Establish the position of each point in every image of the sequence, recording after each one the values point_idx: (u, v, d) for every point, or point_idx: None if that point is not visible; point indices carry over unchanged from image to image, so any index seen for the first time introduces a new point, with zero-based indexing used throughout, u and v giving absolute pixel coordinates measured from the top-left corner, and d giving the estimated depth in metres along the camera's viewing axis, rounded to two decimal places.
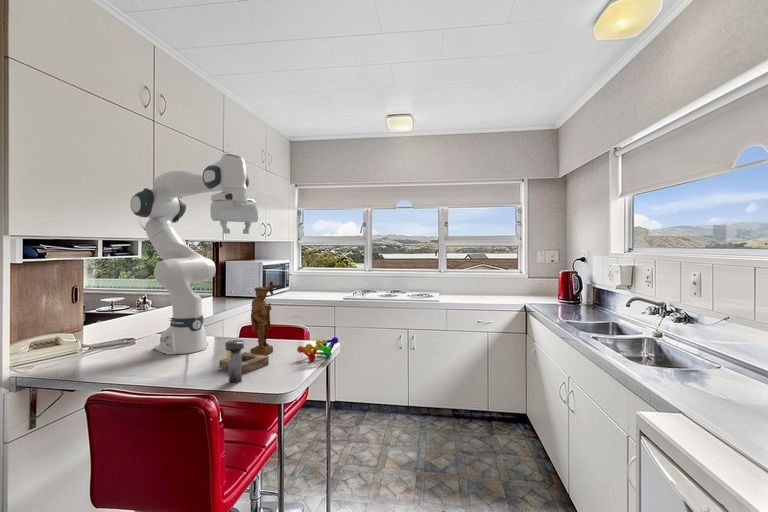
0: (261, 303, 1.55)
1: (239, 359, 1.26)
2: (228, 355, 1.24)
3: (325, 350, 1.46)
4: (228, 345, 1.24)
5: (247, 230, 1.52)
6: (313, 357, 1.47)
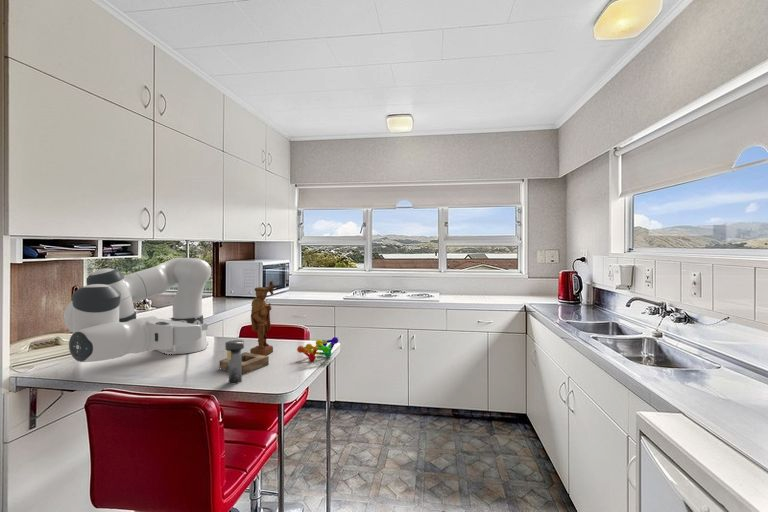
0: (261, 303, 1.55)
1: (239, 359, 1.26)
2: (228, 355, 1.24)
3: (325, 350, 1.46)
4: (228, 345, 1.24)
5: (182, 320, 1.16)
6: (313, 357, 1.47)
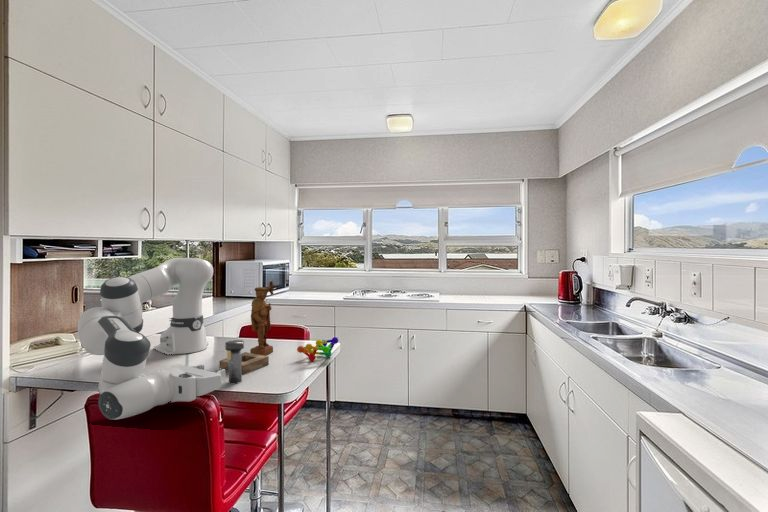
0: (261, 303, 1.55)
1: (239, 359, 1.26)
2: (228, 355, 1.24)
3: (325, 350, 1.46)
4: (228, 345, 1.24)
5: (199, 365, 1.20)
6: (313, 357, 1.47)
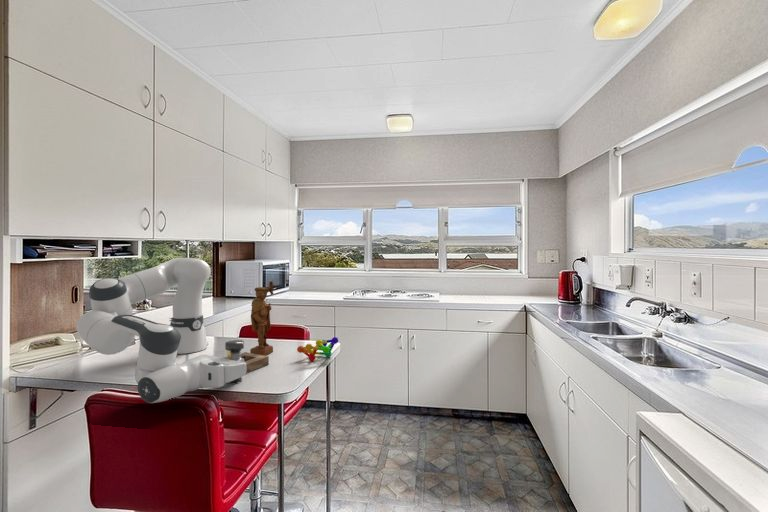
0: (261, 303, 1.55)
1: None
2: (228, 355, 1.24)
3: (325, 350, 1.46)
4: (228, 345, 1.24)
5: None
6: (313, 357, 1.47)
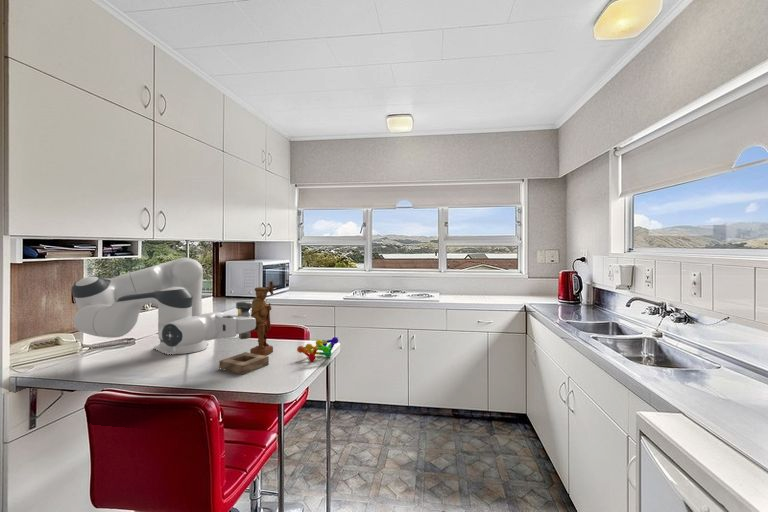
0: (261, 303, 1.55)
1: None
2: (238, 313, 1.38)
3: (325, 350, 1.46)
4: (239, 304, 1.38)
5: None
6: (313, 357, 1.47)
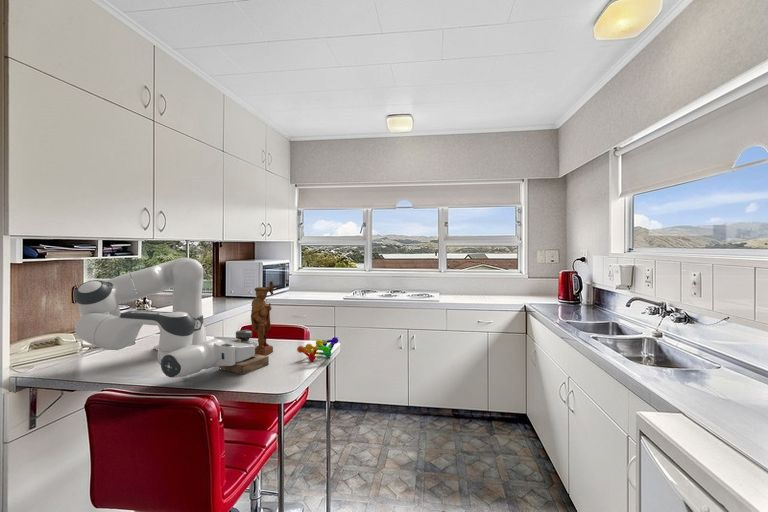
0: (261, 303, 1.55)
1: None
2: None
3: (325, 350, 1.46)
4: (238, 334, 1.39)
5: (234, 340, 1.43)
6: (313, 357, 1.47)
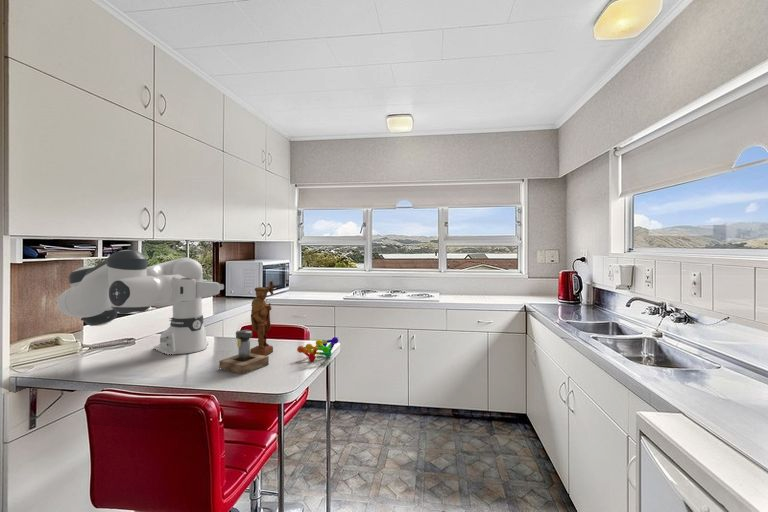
0: (261, 303, 1.55)
1: (248, 346, 1.40)
2: (238, 343, 1.39)
3: (325, 350, 1.46)
4: (238, 334, 1.39)
5: None
6: (313, 357, 1.47)
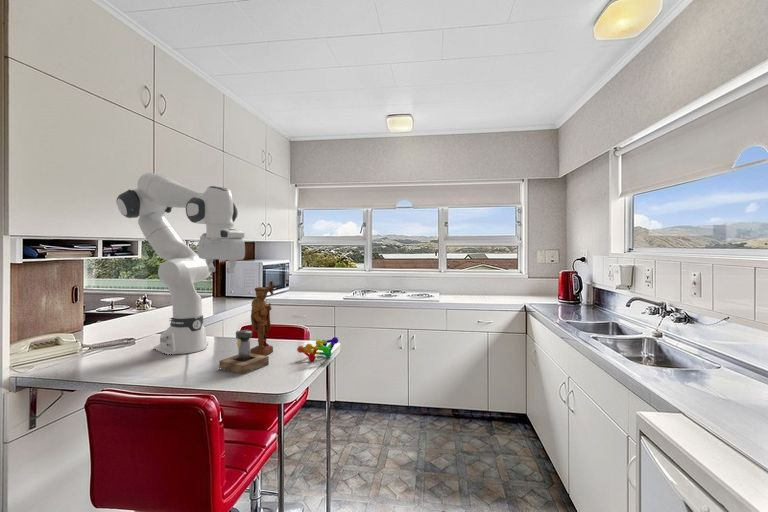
0: (261, 303, 1.55)
1: (248, 346, 1.40)
2: (238, 343, 1.39)
3: (325, 350, 1.46)
4: (238, 334, 1.39)
5: None
6: (313, 357, 1.47)
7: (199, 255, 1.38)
